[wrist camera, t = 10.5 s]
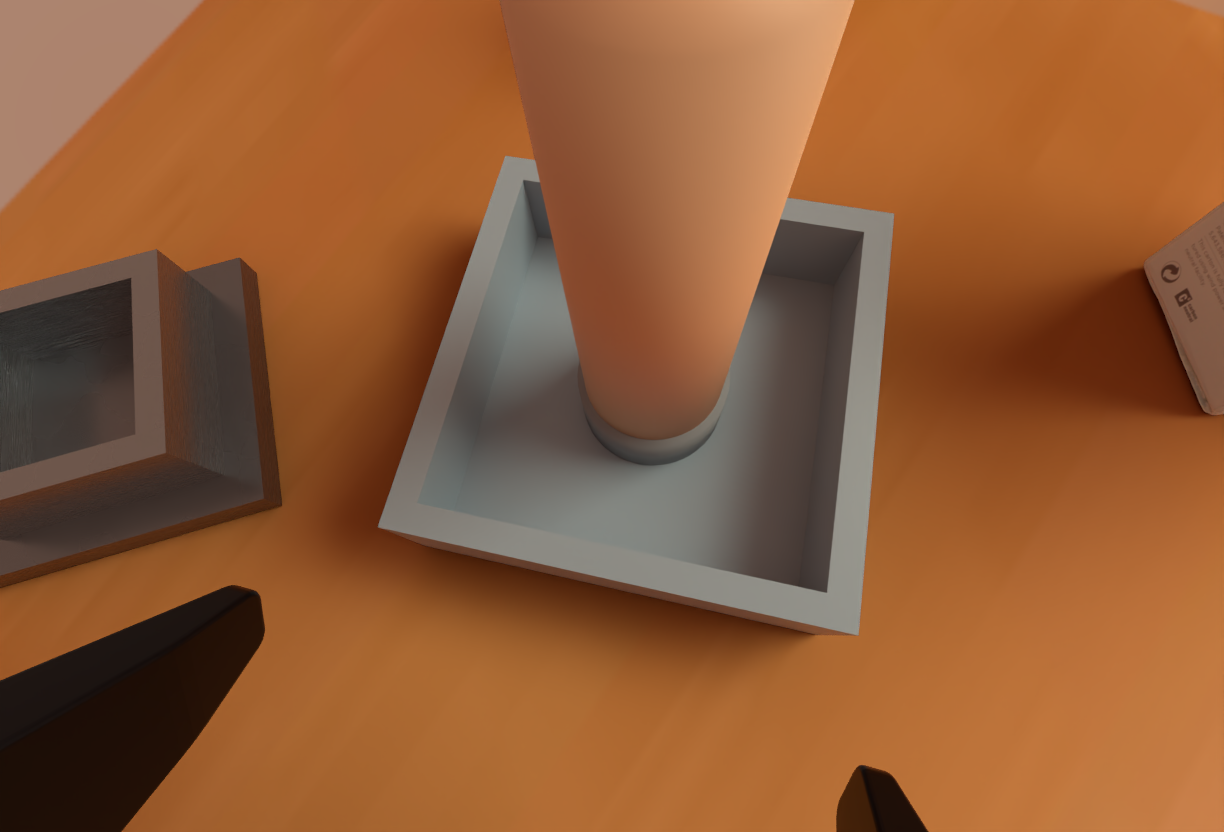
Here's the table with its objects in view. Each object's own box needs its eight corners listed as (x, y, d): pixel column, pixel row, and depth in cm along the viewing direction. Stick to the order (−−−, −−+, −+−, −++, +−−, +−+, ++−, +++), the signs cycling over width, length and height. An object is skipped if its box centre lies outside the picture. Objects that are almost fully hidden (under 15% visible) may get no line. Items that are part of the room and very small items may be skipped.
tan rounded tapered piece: (706, 480, 19) (870, 106, 5) (567, 447, 19) (405, 32, 6) (733, 351, 20) (916, -197, 7) (603, 324, 20) (536, -234, 7)
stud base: (281, 505, 19) (208, 479, 16) (-5, 588, 19) (-140, 579, 16) (256, 273, 22) (190, 211, 19) (8, 340, 22) (-103, 288, 19)
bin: (817, 635, 17) (858, 635, 14) (423, 545, 19) (377, 527, 16) (854, 278, 21) (894, 213, 18) (524, 225, 23) (505, 155, 19)
